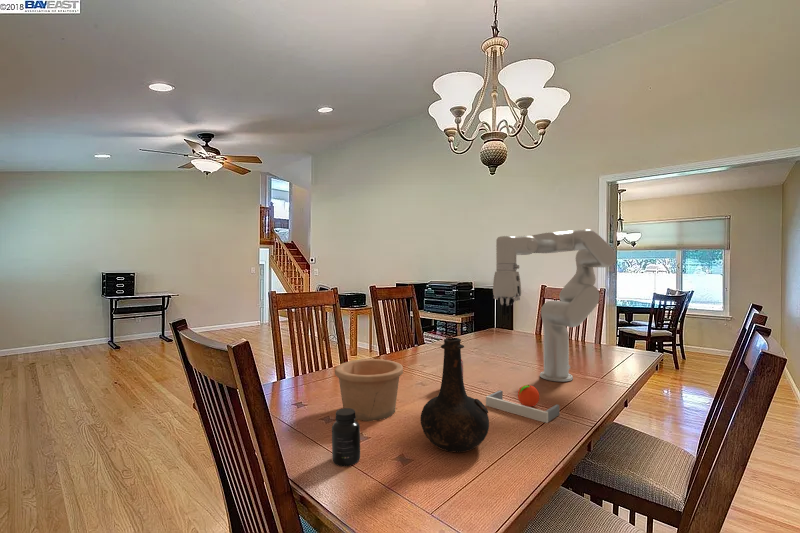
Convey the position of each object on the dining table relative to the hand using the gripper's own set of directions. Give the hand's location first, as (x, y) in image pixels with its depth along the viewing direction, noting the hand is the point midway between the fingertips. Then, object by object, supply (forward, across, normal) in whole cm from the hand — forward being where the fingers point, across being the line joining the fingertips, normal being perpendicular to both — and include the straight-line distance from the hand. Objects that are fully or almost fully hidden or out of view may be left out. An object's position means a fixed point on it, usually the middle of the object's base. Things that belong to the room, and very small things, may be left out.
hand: (506, 315), depth 156 cm
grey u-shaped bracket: (+27, -17, +21) cm, 38 cm away
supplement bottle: (+27, -2, +80) cm, 85 cm away
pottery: (+27, +18, +55) cm, 64 cm away
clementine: (+27, -17, +16) cm, 36 cm away
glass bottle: (+27, -16, +55) cm, 63 cm away
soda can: (+27, +12, +18) cm, 35 cm away
